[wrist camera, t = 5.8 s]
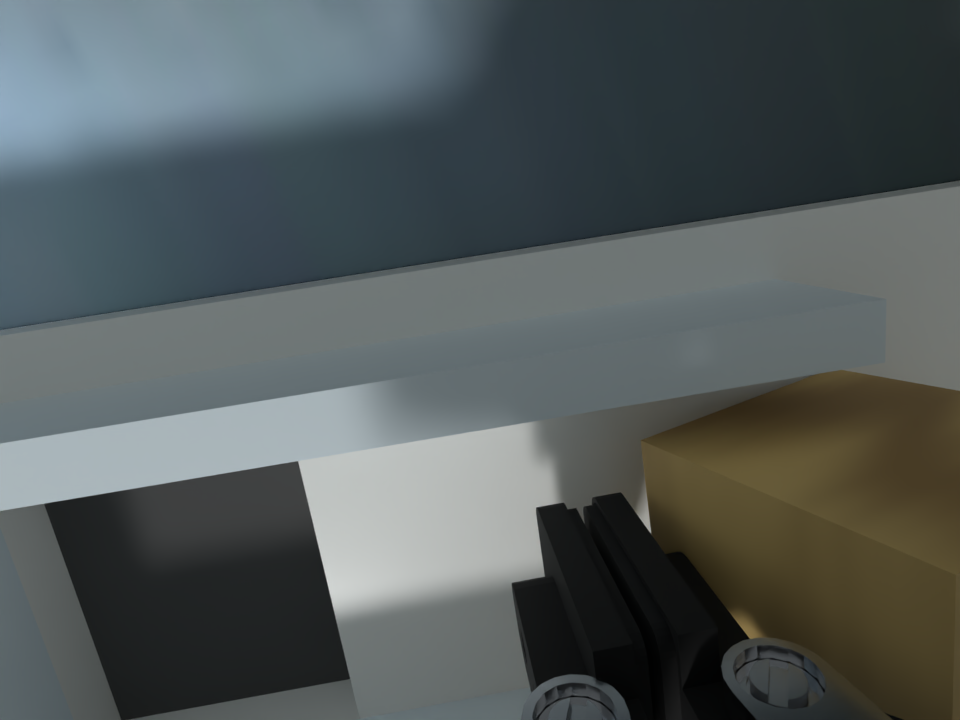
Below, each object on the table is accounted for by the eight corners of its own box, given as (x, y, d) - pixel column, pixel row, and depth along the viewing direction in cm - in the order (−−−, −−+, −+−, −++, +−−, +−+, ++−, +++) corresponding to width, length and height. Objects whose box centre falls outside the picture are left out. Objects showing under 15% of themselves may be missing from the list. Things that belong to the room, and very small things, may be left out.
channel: (1038, 168, 13) (1333, 144, 9) (1003, 625, 16) (1213, 775, 12) (-59, 339, 12) (-327, 405, 8) (111, 793, 15) (-18, 1024, 11)
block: (833, 368, 12) (1185, 431, 8) (838, 575, 14) (1148, 733, 9) (640, 440, 11) (956, 575, 6) (667, 672, 12) (947, 928, 7)
